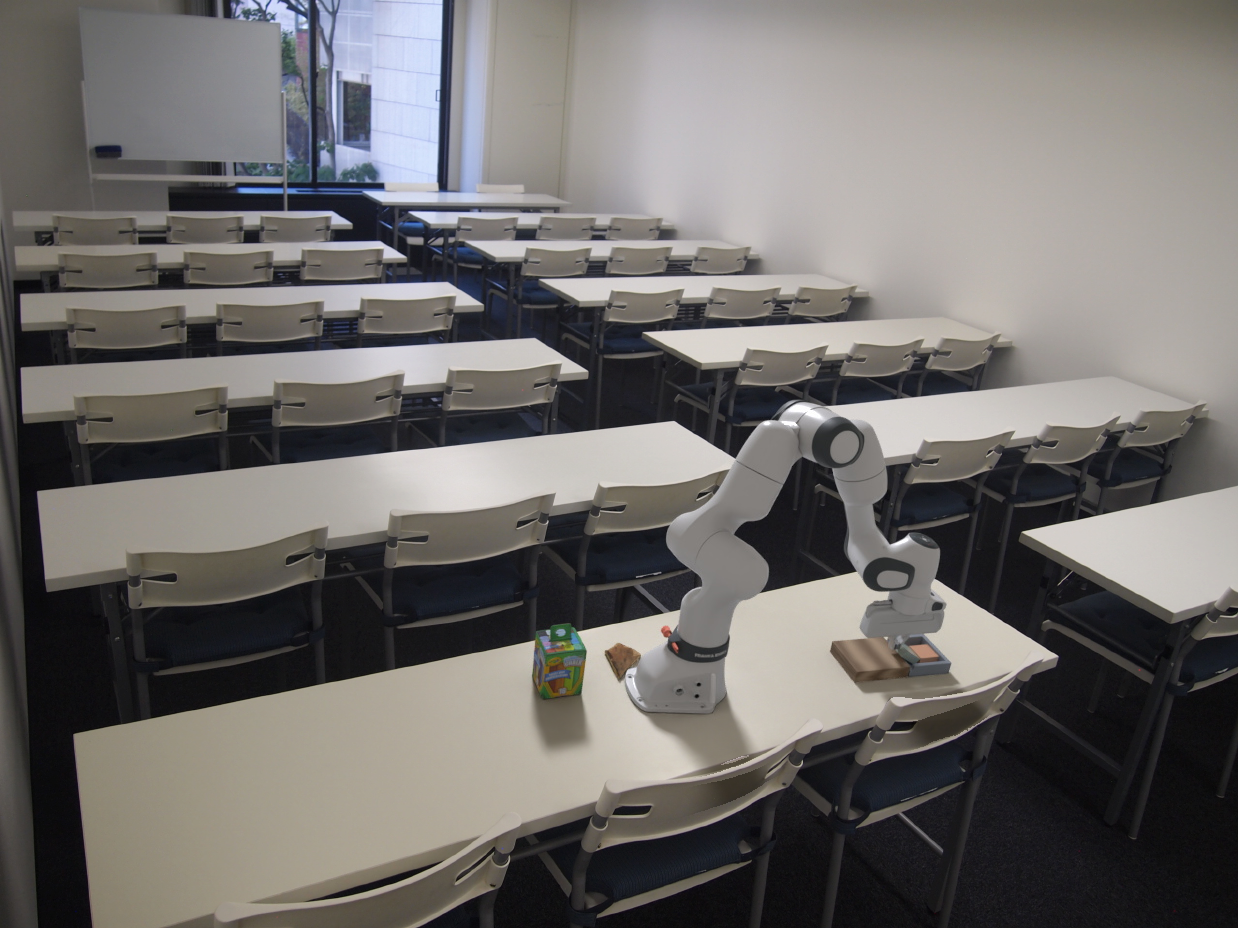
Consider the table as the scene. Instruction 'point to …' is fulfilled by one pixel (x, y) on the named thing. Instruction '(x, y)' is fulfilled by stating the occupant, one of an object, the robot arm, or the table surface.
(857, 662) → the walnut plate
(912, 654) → the sage tile
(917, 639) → the tray
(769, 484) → the robot arm
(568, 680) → the chalk box
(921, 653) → the terracotta tile
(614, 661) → the shard
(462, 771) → the table surface
